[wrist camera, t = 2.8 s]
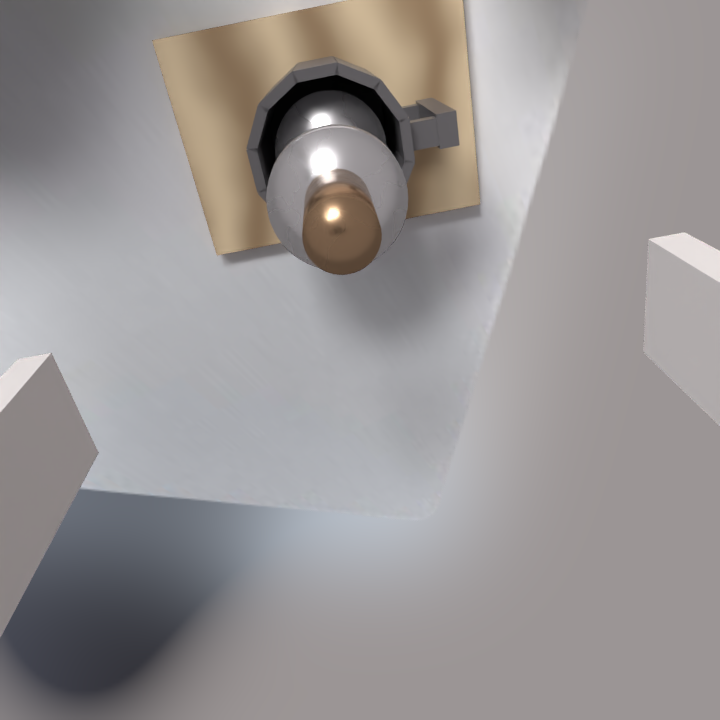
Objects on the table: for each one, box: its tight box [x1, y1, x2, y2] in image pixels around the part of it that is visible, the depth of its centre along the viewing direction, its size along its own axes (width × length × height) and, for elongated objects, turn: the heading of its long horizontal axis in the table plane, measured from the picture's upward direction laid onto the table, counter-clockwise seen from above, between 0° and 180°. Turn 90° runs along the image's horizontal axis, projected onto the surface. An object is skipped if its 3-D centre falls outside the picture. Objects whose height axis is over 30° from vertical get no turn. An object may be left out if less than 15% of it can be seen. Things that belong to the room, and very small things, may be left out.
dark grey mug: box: [246, 56, 460, 202], centre depth 41 cm, size 12×10×12 cm
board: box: [152, 0, 480, 255], centre depth 47 cm, size 22×16×1 cm
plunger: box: [266, 90, 408, 275], centre depth 30 cm, size 7×7×19 cm
